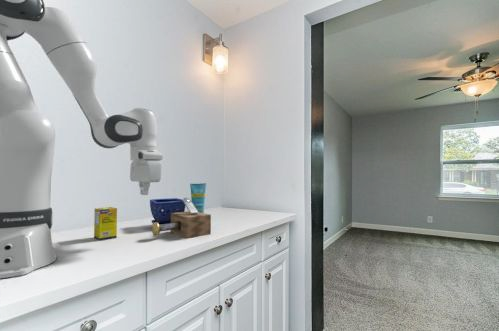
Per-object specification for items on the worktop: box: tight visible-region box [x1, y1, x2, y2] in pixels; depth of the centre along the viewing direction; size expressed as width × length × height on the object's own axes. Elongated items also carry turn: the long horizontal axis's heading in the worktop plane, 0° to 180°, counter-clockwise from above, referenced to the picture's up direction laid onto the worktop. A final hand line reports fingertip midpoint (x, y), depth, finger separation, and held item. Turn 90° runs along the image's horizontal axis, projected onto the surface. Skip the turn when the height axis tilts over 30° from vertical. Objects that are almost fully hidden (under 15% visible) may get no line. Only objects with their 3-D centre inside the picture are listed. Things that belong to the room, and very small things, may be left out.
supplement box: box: [93, 206, 118, 241], centre depth 93 cm, size 6×6×11 cm
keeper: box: [182, 197, 198, 214], centre depth 102 cm, size 3×9×1 cm
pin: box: [151, 222, 181, 237], centre depth 96 cm, size 14×5×5 cm, turn 132°
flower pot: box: [149, 197, 186, 225], centre depth 115 cm, size 13×13×12 cm
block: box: [170, 211, 212, 239], centre depth 101 cm, size 10×14×8 cm
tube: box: [189, 182, 207, 213], centre depth 116 cm, size 7×5×19 cm, turn 123°
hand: (144, 194), depth 89 cm, fingers closed
